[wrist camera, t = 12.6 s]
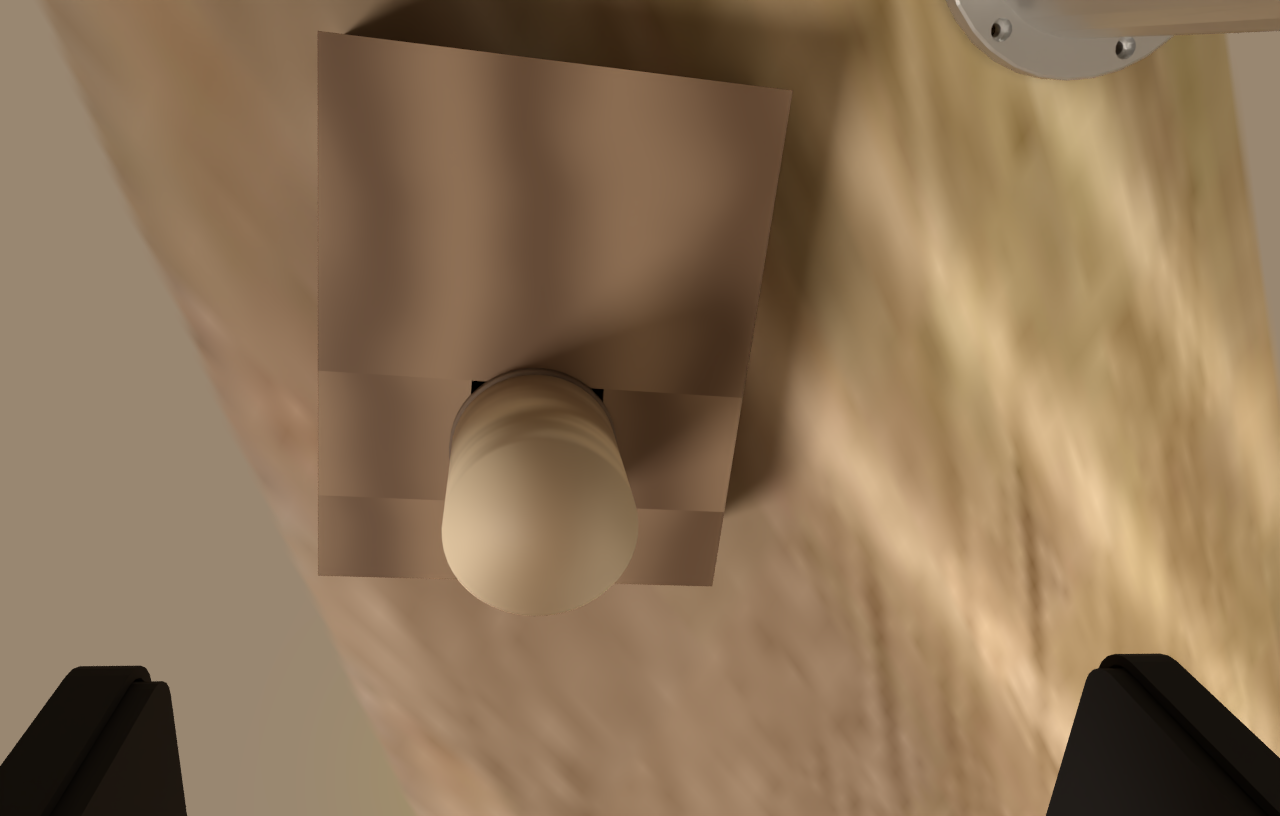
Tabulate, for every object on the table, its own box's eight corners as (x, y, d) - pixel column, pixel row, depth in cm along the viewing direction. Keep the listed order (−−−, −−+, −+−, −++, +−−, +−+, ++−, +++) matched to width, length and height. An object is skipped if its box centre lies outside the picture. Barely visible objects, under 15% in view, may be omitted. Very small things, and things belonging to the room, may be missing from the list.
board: (755, 86, 37) (792, 90, 32) (689, 530, 44) (712, 586, 39) (342, 35, 34) (317, 30, 30) (338, 517, 41) (318, 575, 36)
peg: (611, 341, 39) (652, 444, 29) (596, 478, 41) (629, 620, 31) (458, 329, 38) (443, 432, 28) (451, 471, 40) (433, 616, 30)
